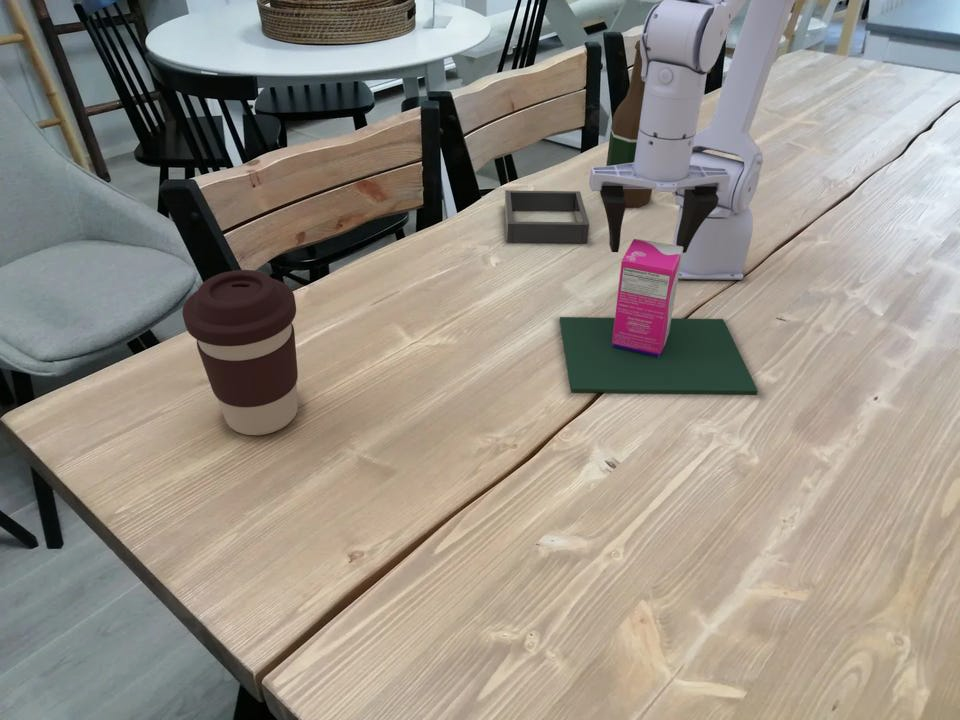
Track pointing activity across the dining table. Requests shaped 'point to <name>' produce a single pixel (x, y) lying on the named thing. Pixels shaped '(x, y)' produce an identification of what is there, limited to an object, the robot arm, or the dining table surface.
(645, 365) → the mat
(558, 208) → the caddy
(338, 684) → the dining table surface
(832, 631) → the dining table surface
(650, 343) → the supplement box
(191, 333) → the coffee cup
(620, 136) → the beer bottle
